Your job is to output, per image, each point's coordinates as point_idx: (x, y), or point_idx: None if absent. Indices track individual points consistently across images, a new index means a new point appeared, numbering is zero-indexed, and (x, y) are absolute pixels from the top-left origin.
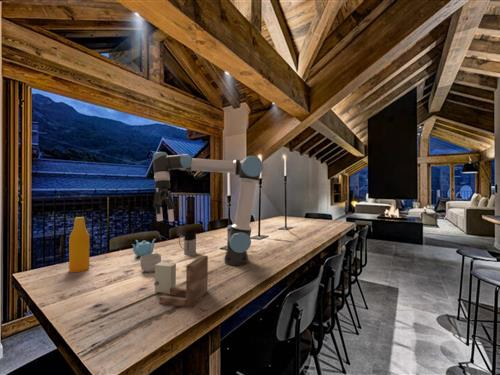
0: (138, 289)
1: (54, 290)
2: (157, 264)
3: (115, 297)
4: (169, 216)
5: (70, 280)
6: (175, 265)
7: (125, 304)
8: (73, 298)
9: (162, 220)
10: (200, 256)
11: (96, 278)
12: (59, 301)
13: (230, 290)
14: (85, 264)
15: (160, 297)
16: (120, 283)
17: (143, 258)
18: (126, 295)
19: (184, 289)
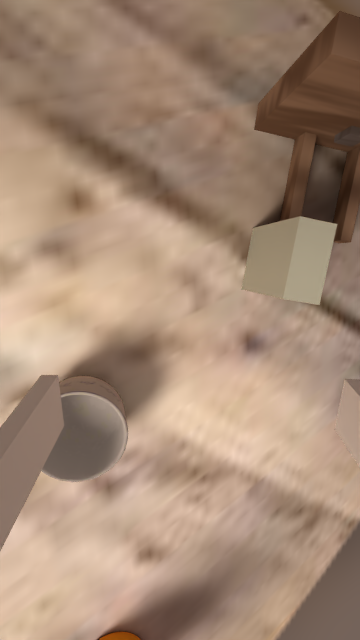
0: (257, 354)
1: (276, 576)
2: (314, 296)
3: (309, 388)
4: (39, 457)
5: (209, 597)
6: (298, 218)
7: (345, 335)
8: (317, 490)
9: (352, 382)
10: (351, 55)
11: (186, 539)
12: (332, 508)
13: (246, 6)
14: None
15: (350, 238)
16: (218, 438)
17: (71, 470)
18: (297, 365)
19: (300, 177)
